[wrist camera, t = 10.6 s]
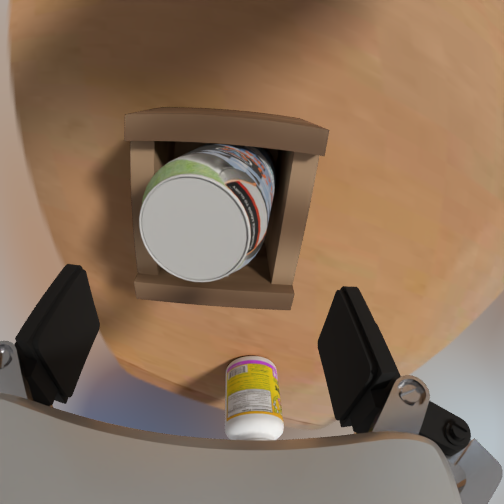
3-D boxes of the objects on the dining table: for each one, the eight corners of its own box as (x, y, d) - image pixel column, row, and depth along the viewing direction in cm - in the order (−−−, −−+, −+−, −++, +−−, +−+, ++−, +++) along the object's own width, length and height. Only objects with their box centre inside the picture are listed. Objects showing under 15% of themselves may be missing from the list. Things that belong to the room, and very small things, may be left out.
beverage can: (277, 202, 23) (306, 291, 13) (188, 213, 24) (149, 305, 13) (270, 126, 20) (301, 149, 10) (175, 138, 21) (109, 178, 10)
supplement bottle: (269, 384, 38) (276, 465, 27) (222, 379, 37) (221, 464, 26) (282, 355, 35) (295, 447, 24) (230, 350, 34) (229, 446, 23)
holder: (161, 107, 20) (125, 114, 13) (299, 118, 21) (329, 130, 14) (160, 243, 26) (136, 298, 19) (277, 253, 27) (290, 310, 20)
